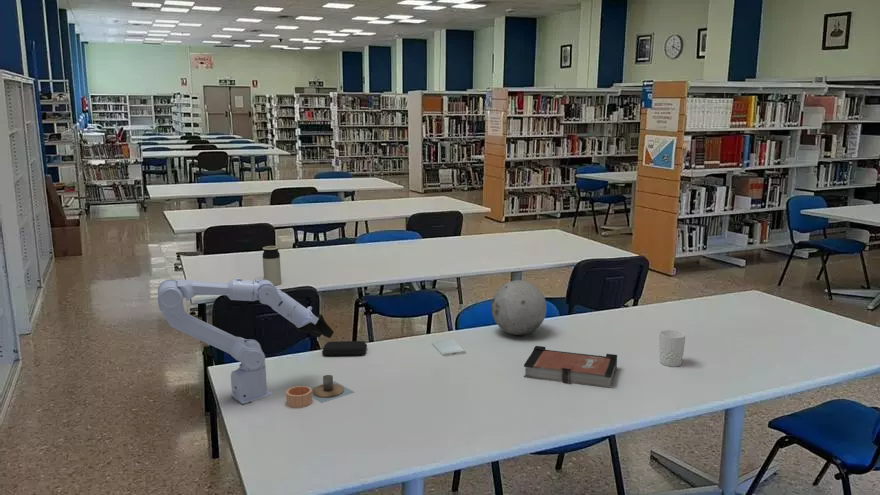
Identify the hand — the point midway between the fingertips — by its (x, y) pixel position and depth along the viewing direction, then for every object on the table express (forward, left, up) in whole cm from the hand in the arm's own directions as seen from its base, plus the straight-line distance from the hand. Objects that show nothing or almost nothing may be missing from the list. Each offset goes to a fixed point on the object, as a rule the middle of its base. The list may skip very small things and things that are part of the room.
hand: (326, 334), depth 202 cm
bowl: (-14, -7, -16) cm, 22 cm away
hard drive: (+47, -1, -16) cm, 50 cm away
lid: (-4, -6, -15) cm, 17 cm away
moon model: (+77, -6, -16) cm, 79 cm away
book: (+61, -43, -16) cm, 77 cm away
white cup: (+92, -59, -16) cm, 111 cm away
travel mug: (+44, +124, -16) cm, 132 cm away
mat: (-4, -6, -16) cm, 17 cm away
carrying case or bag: (+19, +21, -16) cm, 33 cm away
